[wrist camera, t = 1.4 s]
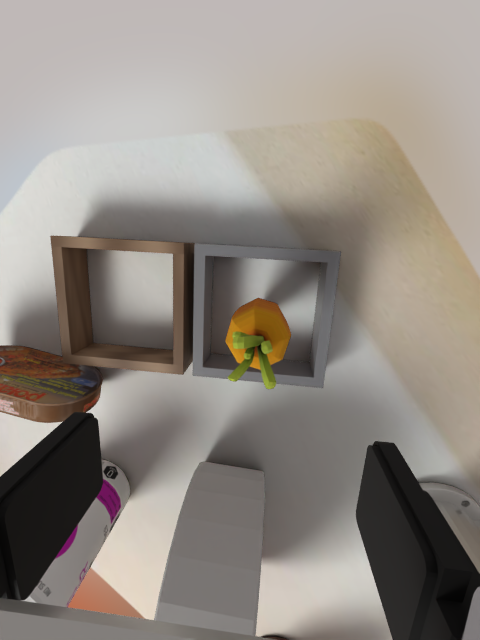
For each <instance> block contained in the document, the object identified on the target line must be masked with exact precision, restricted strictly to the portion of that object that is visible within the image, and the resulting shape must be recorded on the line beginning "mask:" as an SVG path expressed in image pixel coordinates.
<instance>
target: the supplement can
mask: <svg viewBox="0 0 480 640" xmlns="http://www.w3.org/2000/svg"><path fill="white" fill-rule="evenodd" d="M101 461H102V472H103V485H102V488H101V491H100V492H99V494H98V496H97V497H96V498H95V500H94V501H93V503H92V504H91V506H90V507H89V509H88V510H87V512H86V513H85V515H84V516H83V518H82V519H81V521H80V522H79V524H78V525H77V527H76V528H75V530H74V531H73V532H72V534H71V535H70V537H69V538H68V540H67V541H66V543H65V544H64V546H63V547H62V549H61V550H60V552H59V553H58V555H57V556H56V558H55V559H54V561H53V562H52V563H51V565H50V566H49V568H48V569H47V571H46V572H45V574H44V575H43V577H42V578H41V580H40V581H39V583H38V584H37V586H36V587H35V589H34V590H33V592H32V593H31V594H30V596H29V597H28V598H27V599H26V600H21V601H27V602H34V603H41V604H48V605H55V606H61V607H68V605H69V603H70V602H71V600H72V598H73V596H74V595H75V593H76V591H77V589H78V588H79V586H80V584H81V582H82V580H83V579H84V577H85V575H86V574H87V572H88V570H89V568H90V567H91V565H92V563H93V561H94V560H95V558H96V556H97V554H98V553H99V551H100V549H101V547H102V545H103V544H104V542H105V540H106V538H107V537H108V535H109V533H110V531H111V530H112V528H113V526H114V524H115V523H116V521H117V519H118V517H119V516H120V514H121V512H122V510H123V509H124V507H125V505H126V503H127V502H128V499H129V496H130V486H129V482H128V480H127V478H126V476H125V474H124V472H123V471H122V470H121V469H120V468H119V467H118V466H117V465H115V464H113V463H111V462H110V461H106V460H102V459H101Z"/></svg>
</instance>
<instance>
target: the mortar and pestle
mask: <svg viewBox="0 0 480 640" xmlns="http://www.w3.org/2000/svg"><path fill="white" fill-rule="evenodd" d="M266 638H269V639H275V640H287V639H285V638H280V637H266Z"/></svg>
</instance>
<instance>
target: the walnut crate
mask: <svg viewBox="0 0 480 640" xmlns="http://www.w3.org/2000/svg"><path fill="white" fill-rule="evenodd" d="M51 246H52V257H53V267H54V277H55V287H56V297H57V307H58V317H59V327H60V337H61V347H62V357H63V363H67V364H78V365H88V366H98V367H109V368H119V369H130V370H140V371H150V372H161V373H171V374H182V375H183V374H184V373H185V371H186V370H187V368H188V367H189V365H190V364H191V362H192V361H193V316H194V248H195V243H183V242H164V241H146V240H128V239H110V238H92V237H72V236H51ZM87 249H103V250H120V251H137V252H155V253H172V254H173V350H166V349H155V348H143V347H132V346H121V345H110V344H98V343H93V333H92V319H91V305H90V291H89V277H88V263H87Z"/></svg>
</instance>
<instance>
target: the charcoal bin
mask: <svg viewBox="0 0 480 640" xmlns="http://www.w3.org/2000/svg"><path fill="white" fill-rule="evenodd" d="M213 256H223V257H240V258H257V259H274V260H291V261H308V262H321V265H320V274H319V282H318V291H317V300H316V308H315V317H314V325H313V334H312V342H311V351H310V360H309V362H301V361H290V360H280V361H278V362H276V363H274V364H272V365H271V368H272V371H273V373H274V376H275V379H276V384H286V385H296V386H306V387H317V388H323V385H324V377H325V370H326V362H327V355H328V347H329V339H330V332H331V324H332V317H333V309H334V301H335V294H336V286H337V279H338V271H339V263H340V256H341V252H340V251H328V250H310V249H292V248H274V247H256V246H237V245H219V244H195V248H194V316H193V376H202V377H213V378H223V379H228V376H229V375H230V374H231V373H232V372H233V371H234V370H235V369H236V368H237V367H238V366H239V365H240V363H237V361H236V359H235V357H234V356H233V355H222V354H211V322H212V289H213ZM238 380H244V381H254V382H263V378H262V374H261V370H259V369H256V368H253V367H250V366H249V368H248V369H247V370H246V372H245V373H244V374H243V375H242V376H241V377H240V378H239V379H238Z"/></svg>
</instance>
